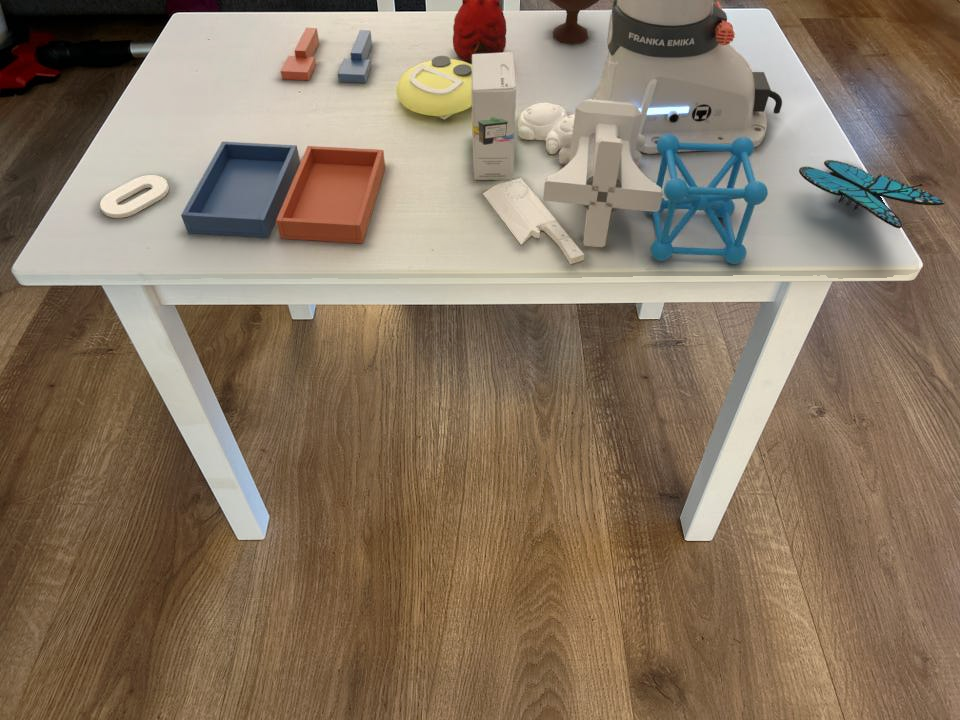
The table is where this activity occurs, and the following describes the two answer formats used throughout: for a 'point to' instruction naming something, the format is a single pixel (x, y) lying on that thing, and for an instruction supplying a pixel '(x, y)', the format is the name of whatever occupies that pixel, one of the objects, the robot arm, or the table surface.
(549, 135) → the astronaut figurine
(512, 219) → the cleaver
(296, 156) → the blue tray
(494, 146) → the ink box
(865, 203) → the butterfly
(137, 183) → the chain link
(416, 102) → the emoji
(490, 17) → the red clay folk toy
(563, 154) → the toy gun turret
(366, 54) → the paddle
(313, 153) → the terracotta tray
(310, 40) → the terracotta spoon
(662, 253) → the molecular structure
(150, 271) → the table surface
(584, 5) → the ice cream bowl
